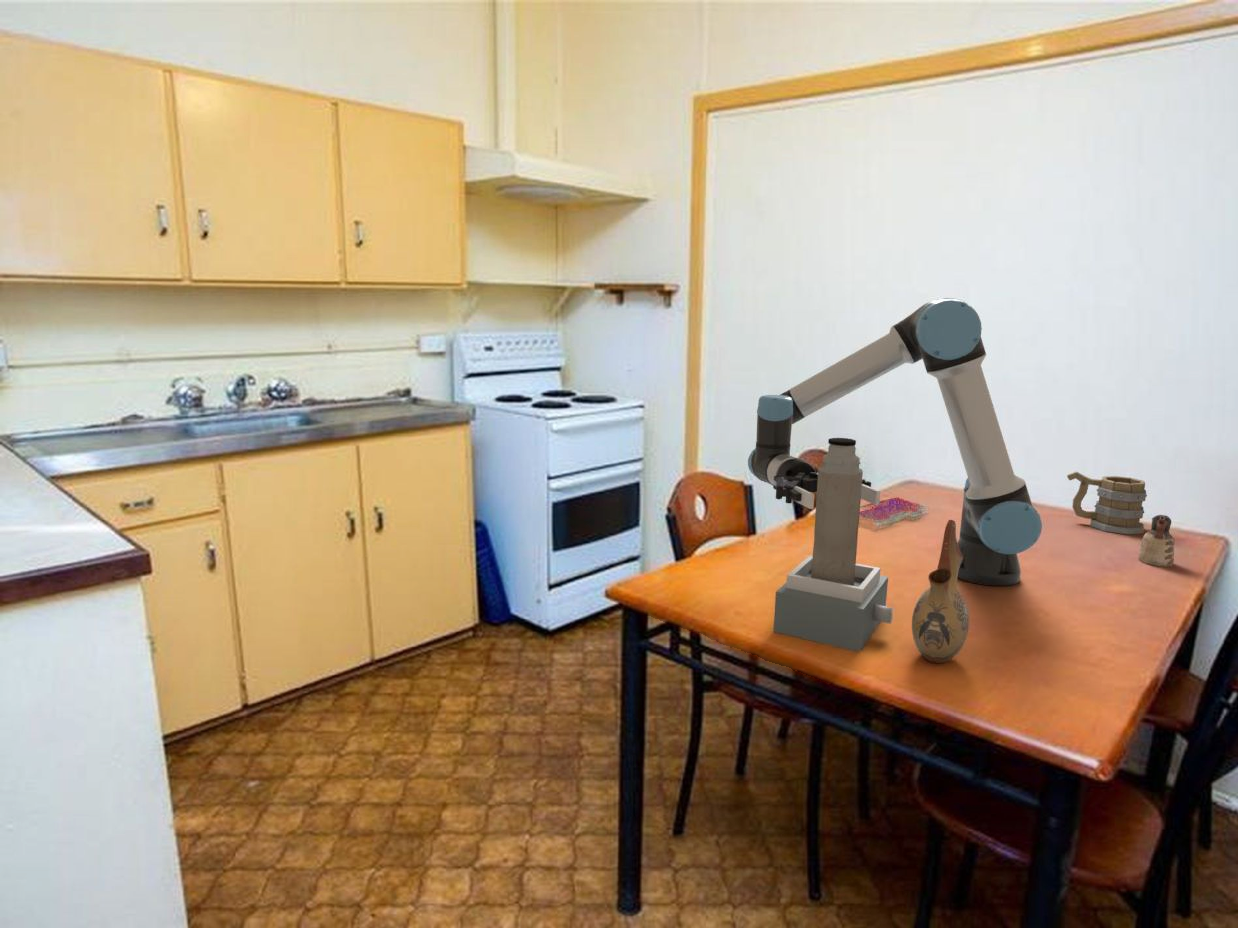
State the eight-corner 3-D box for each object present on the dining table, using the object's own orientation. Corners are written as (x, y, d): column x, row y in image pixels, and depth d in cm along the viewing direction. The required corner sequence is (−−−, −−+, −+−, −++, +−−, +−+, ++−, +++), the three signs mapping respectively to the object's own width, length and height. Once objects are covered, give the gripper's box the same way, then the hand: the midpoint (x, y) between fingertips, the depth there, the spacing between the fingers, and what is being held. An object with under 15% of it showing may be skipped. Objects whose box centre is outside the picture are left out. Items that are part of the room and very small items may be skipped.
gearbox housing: (900, 618, 153) (905, 567, 151) (877, 655, 136) (882, 599, 134) (806, 598, 163) (809, 550, 161) (773, 631, 146) (776, 578, 144)
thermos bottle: (852, 577, 152) (863, 436, 146) (855, 592, 144) (867, 443, 139) (810, 574, 153) (819, 434, 148) (811, 588, 146) (821, 441, 140)
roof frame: (879, 533, 213) (881, 515, 212) (833, 521, 224) (835, 504, 223) (938, 516, 231) (939, 499, 230) (892, 506, 243) (894, 490, 241)
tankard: (1142, 526, 222) (1150, 475, 219) (1143, 537, 212) (1151, 483, 209) (1062, 515, 232) (1069, 466, 229) (1059, 525, 222) (1066, 474, 219)
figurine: (1175, 562, 190) (1183, 514, 188) (1170, 568, 185) (1178, 520, 183) (1141, 555, 195) (1148, 509, 193) (1135, 562, 190) (1142, 514, 188)
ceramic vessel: (918, 635, 145) (931, 505, 140) (971, 646, 141) (986, 513, 136) (899, 668, 132) (912, 526, 127) (956, 682, 127) (972, 535, 122)
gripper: (843, 490, 167) (902, 515, 147) (736, 495, 161) (782, 523, 141) (846, 456, 166) (906, 477, 146) (737, 460, 160) (784, 482, 140)
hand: (845, 499), depth 143 cm, fingers open, 13 cm apart
